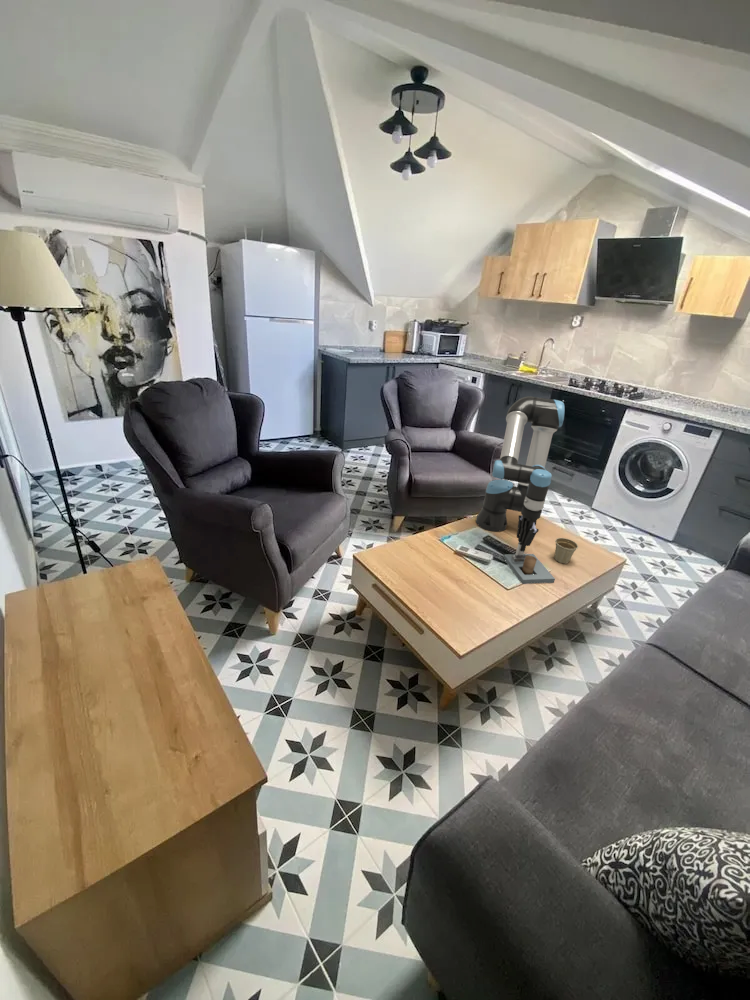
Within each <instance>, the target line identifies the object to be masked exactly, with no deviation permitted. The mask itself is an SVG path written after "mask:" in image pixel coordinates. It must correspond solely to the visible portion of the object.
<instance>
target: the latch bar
mask: <svg viewBox="0 0 750 1000" xmlns="http://www.w3.org/2000/svg"><path fill="white" fill-rule="evenodd" d="M526 556H528V555H512V557H511V561H512V562H513V564H524V560H525V557H526ZM529 556H530V555H529Z"/></svg>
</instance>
